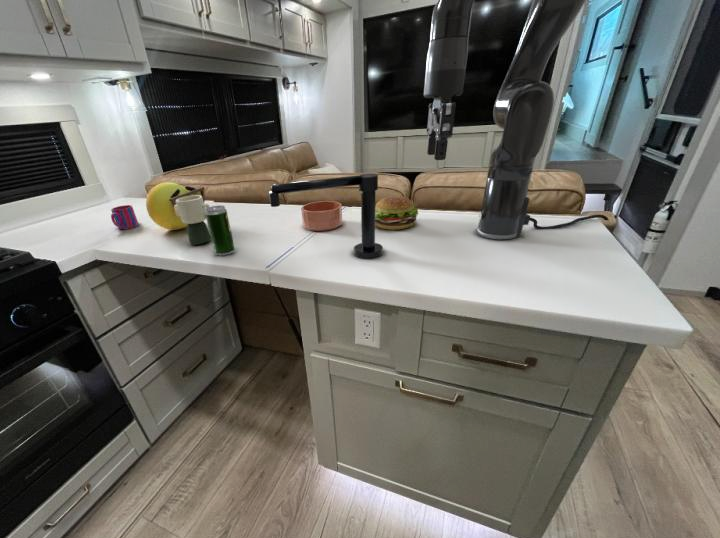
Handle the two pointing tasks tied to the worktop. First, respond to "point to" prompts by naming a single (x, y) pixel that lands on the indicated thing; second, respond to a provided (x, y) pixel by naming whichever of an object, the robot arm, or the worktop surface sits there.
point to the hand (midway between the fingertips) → (435, 157)
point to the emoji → (168, 204)
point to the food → (395, 213)
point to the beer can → (220, 230)
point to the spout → (324, 185)
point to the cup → (124, 217)
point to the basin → (322, 215)
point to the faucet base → (368, 229)
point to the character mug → (193, 217)
